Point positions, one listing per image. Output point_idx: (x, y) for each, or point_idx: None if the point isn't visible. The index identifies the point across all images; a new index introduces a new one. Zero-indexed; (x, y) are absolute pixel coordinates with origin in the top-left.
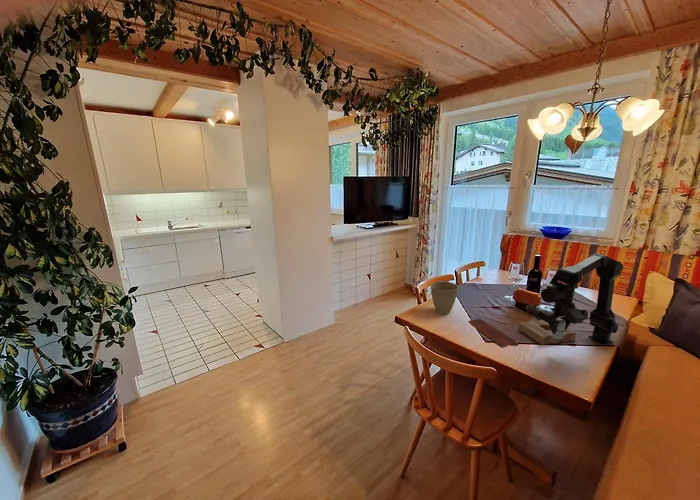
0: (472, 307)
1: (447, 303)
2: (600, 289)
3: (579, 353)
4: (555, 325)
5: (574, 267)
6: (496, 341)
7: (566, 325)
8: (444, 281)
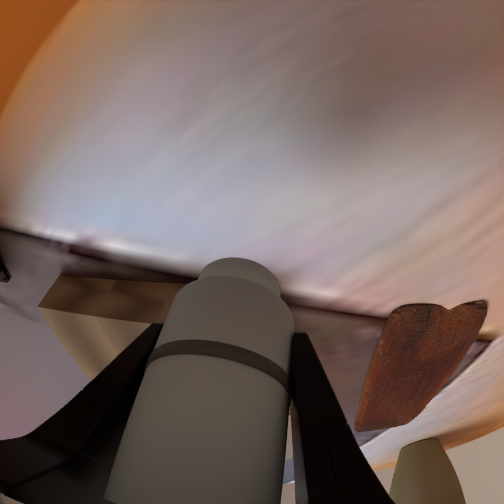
0: None
1: (442, 474)
2: None
3: (90, 173)
4: (358, 478)
5: None
6: (475, 336)
7: (104, 419)
8: None
